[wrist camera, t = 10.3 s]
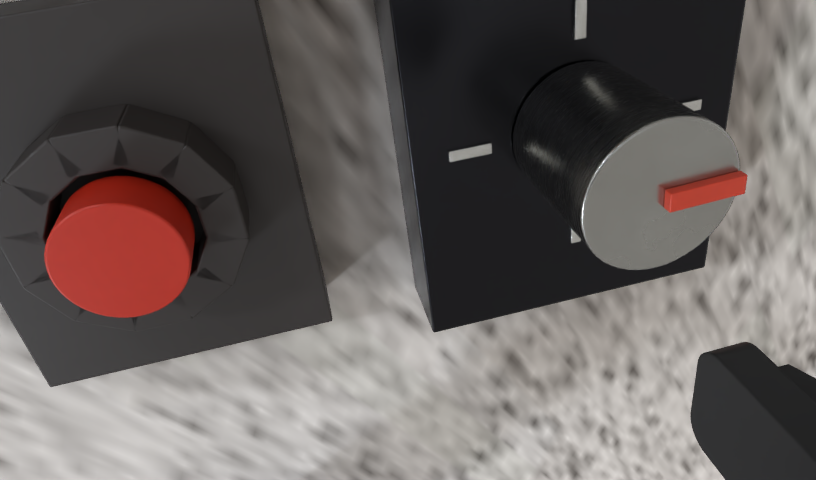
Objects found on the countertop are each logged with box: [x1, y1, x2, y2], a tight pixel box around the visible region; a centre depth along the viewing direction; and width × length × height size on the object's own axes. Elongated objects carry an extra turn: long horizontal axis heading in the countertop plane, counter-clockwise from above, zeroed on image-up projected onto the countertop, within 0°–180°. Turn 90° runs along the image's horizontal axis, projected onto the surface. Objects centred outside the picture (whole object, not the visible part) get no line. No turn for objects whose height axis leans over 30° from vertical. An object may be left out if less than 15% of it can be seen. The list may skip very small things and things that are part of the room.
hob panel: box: [374, 0, 746, 332], centre depth 22 cm, size 14×11×3 cm
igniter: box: [0, 0, 332, 387], centre depth 20 cm, size 12×10×4 cm
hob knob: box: [513, 61, 747, 270], centre depth 18 cm, size 4×4×5 cm
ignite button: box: [44, 176, 195, 318], centre depth 18 cm, size 4×4×2 cm
